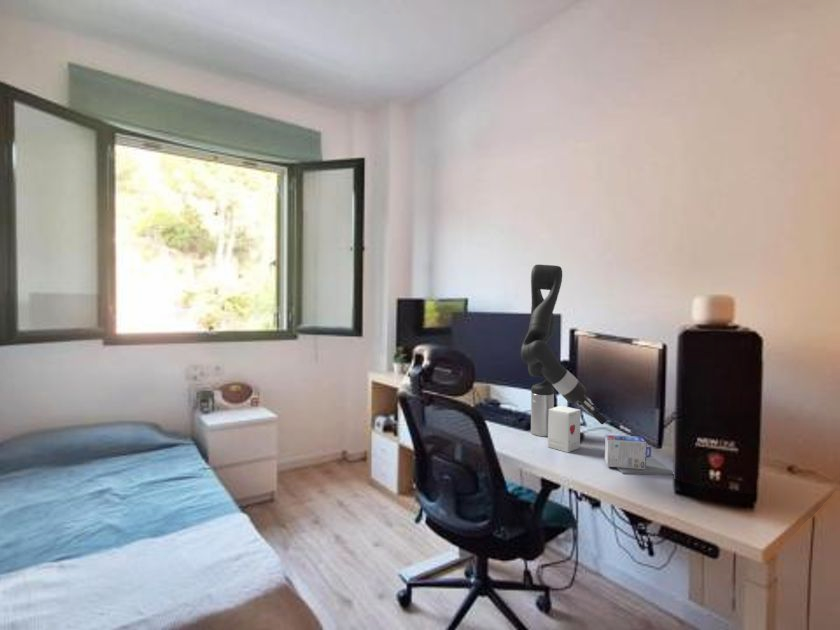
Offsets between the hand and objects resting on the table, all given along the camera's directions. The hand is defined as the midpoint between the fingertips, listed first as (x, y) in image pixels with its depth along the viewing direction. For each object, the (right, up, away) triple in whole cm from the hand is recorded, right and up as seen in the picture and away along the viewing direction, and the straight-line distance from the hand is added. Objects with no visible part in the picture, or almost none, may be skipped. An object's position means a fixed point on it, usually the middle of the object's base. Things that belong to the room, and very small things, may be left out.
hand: (603, 422), depth 156 cm
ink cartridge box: (0, -9, -1) cm, 9 cm away
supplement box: (-8, -14, +19) cm, 25 cm away
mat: (+12, -15, 0) cm, 19 cm away
